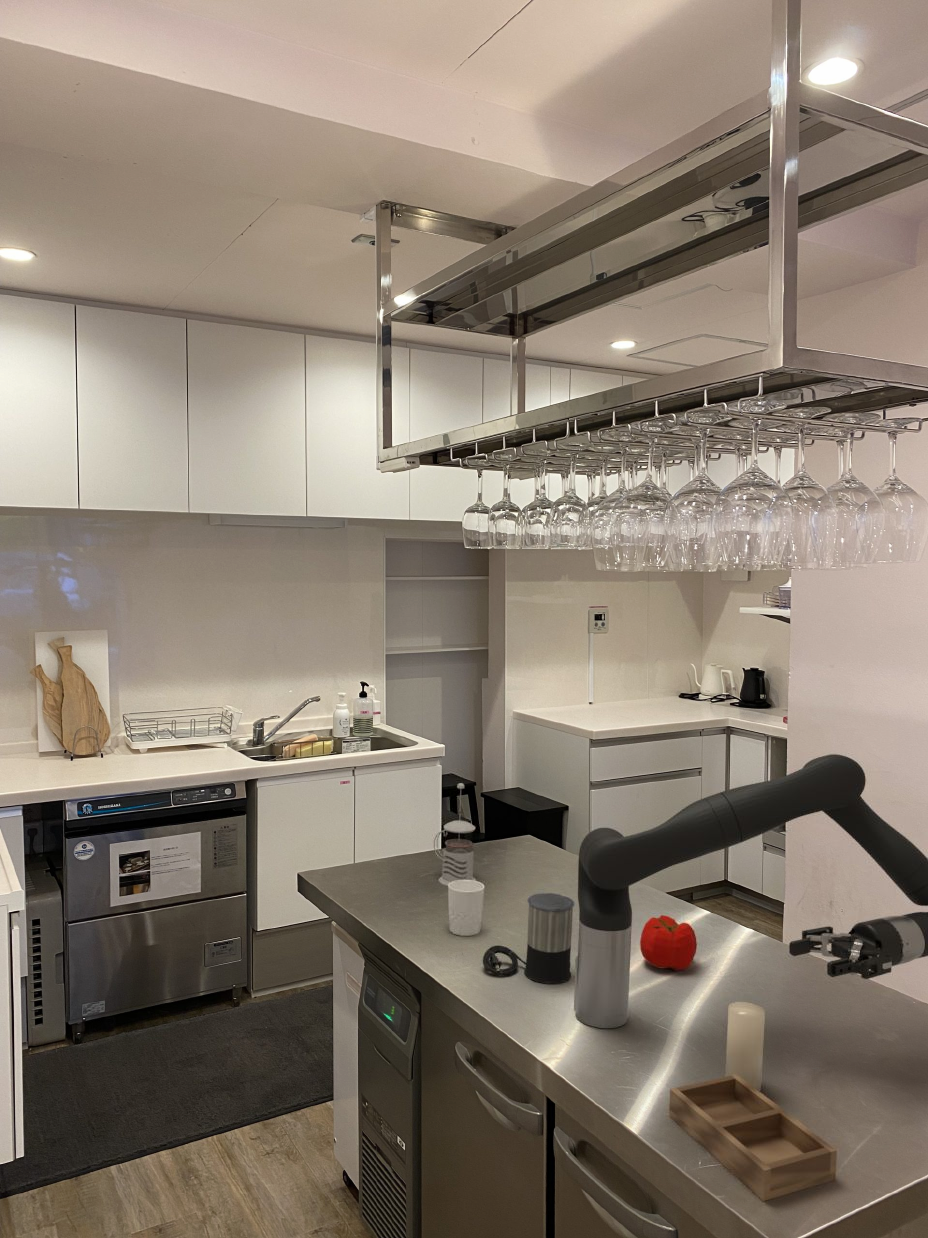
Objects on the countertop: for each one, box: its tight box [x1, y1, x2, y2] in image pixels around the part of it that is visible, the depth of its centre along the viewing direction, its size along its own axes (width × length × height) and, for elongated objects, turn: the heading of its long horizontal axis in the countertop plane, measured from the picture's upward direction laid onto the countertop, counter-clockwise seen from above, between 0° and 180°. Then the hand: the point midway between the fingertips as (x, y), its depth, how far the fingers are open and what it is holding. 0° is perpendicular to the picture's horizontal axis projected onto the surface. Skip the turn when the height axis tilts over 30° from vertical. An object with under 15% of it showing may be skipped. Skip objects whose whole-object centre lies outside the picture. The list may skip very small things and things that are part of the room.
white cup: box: [447, 880, 485, 937], centre depth 206 cm, size 8×8×10 cm
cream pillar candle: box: [724, 1001, 766, 1093], centre depth 147 cm, size 5×5×12 cm
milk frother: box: [482, 892, 576, 985], centre depth 185 cm, size 14×16×15 cm
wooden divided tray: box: [668, 1074, 838, 1202], centre depth 131 cm, size 20×12×4 cm, turn 23°
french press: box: [433, 782, 477, 887], centre depth 240 cm, size 10×12×25 cm
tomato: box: [639, 914, 698, 971], centre depth 192 cm, size 11×12×9 cm
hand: (809, 959), depth 150 cm, fingers open, 8 cm apart
